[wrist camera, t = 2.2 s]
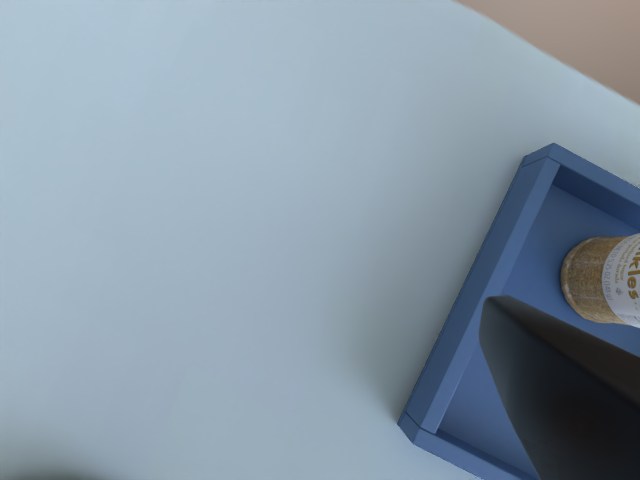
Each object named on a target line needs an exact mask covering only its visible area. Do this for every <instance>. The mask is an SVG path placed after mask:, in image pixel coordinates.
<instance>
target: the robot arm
mask: <svg viewBox="0 0 640 480" xmlns="http://www.w3.org/2000/svg"><path fill="white" fill-rule="evenodd" d="M478 338H479V344H480V347H481V349H482V352H483V355H484V357H485V360H486V362H487V365H488V368H489V370H490V373H491V375H492V378H493V381H494V383H495V386H496V388H497V391H498V394H499V396H500V399H501V401H502V404H503V406H504V409H505V411H506V414H507V416H508V418H509V420H510V422H511V424H512V426H513V428H514V430H515V432H516V434H517V436H518V438H519V440H520V442H521V444H522V446H523V448H524V450H525V452H526V454H527V455H528V457H529V459H530V461H531V463H532V465H533V467H534V469H535V471H536V473H537V475H538V477H539V479H540V480H640V357H639V356H637V355H635V354H633V353H630V352H628V351H626V350H624V349H622V348H620V347H618V346H616V345H613V344H611V343H609V342H607V341H605V340H603V339H601V338H599V337H596V336H594V335H592V334H590V333H588V332H586V331H584V330H582V329H579V328H577V327H575V326H573V325H571V324H569V323H567V322H565V321H563V320H560V319H558V318H556V317H554V316H552V315H550V314H548V313H546V312H543V311H541V310H539V309H537V308H535V307H533V306H531V305H529V304H526V303H524V302H522V301H520V300H518V299H516V298H514V297H512V296H509V295H496V296H488V297H486V298H485V299H484V302H483V305H482V312H481V318H480V325H479V332H478Z"/></svg>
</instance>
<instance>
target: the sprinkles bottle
mask: <svg viewBox="0 0 640 480" xmlns="http://www.w3.org/2000/svg"><path fill="white" fill-rule="evenodd" d="M561 288H562V291H563V293H564V295H565V299H566V300H567V302H568V303H569V305H570V306H571V307H572V308H573V309H574V310H575V311H576V313H578V314H579V315H580V316H582V317H583V318H584V319H587V320H591V321H593V322H597V323H618V324H625V325H632V326H635V327H638V328H640V233H639V234H635V235H632V236H621V237H592V238H589V239H586V240H584V241H582V242H581V243H579V244H578V245H577V246H575V247H573V249H572V250H571V251H570V252H569V253H568V255H567V256H566V257H565V259H564V261H563V265H562V267H561Z"/></svg>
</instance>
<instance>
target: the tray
mask: <svg viewBox="0 0 640 480" xmlns="http://www.w3.org/2000/svg"><path fill="white" fill-rule="evenodd" d="M639 233H640V189H639V188H637V187H635V186H633V185H632V184H630V183H628V182H626V181H624V180H622V179H620V178H619V177H617V176H615V175H613V174H611V173H609V172H607V171H606V170H604V169H602V168H600V167H598V166H596V165H594V164H593V163H591V162H589V161H587V160H585V159H583V158H581V157H580V156H578V155H576V154H574V153H572V152H570V151H568V150H567V149H565V148H563V147H561V146H559V145H557V144H555V143H552V144H550V145H548V146H545V147H543V148H541V149H539V150H537V151H535V152H533V153H531V154H529V155H526V156H524V158H523V160H522V163H521V165H520V167H519V169H518V171H517V173H516V175H515V177H514V179H513V182H512V184H511V186H510V188H509V190H508V192H507V194H506V196H505V198H504V200H503V203H502V205H501V207H500V209H499V211H498V213H497V215H496V217H495V219H494V221H493V224H492V226H491V228H490V230H489V232H488V234H487V236H486V238H485V240H484V242H483V245H482V247H481V249H480V251H479V253H478V255H477V257H476V259H475V261H474V264H473V266H472V268H471V270H470V272H469V274H468V276H467V278H466V280H465V282H464V285H463V287H462V289H461V291H460V293H459V295H458V297H457V299H456V301H455V303H454V306H453V308H452V310H451V312H450V314H449V316H448V318H447V320H446V322H445V325H444V327H443V329H442V331H441V333H440V335H439V337H438V339H437V341H436V343H435V346H434V348H433V350H432V352H431V354H430V356H429V358H428V360H427V362H426V364H425V367H424V369H423V371H422V373H421V375H420V377H419V379H418V381H417V383H416V385H415V388H414V390H413V392H412V394H411V396H410V398H409V400H408V402H407V404H406V407H405V409H404V411H403V413H402V415H401V417H400V419H399V421H398V423H397V425H398V426H399V427H400V428H401V429H402V431H403V432H404V433H405V434H406V436H407V437H408V438H409V440H410V441H411V442H412V443H413V444H414V445H416V446H418V447H420V448H422V449H424V450H426V451H428V452H430V453H432V454H434V455H436V456H438V457H440V458H442V459H444V460H446V461H448V462H450V463H452V464H454V465H456V466H458V467H460V468H462V469H464V470H466V471H468V472H470V473H472V474H474V475H476V476H478V477H480V478H482V479H484V480H540V479H539V477H538V475H537V473H536V471H535V469H534V467H533V465H532V463H531V461H530V459H529V457H528V455H527V454H526V452H525V450H524V448H523V446H522V444H521V442H520V440H519V438H518V436H517V434H516V432H515V430H514V428H513V426H512V424H511V422H510V420H509V418H508V416H507V414H506V411H505V409H504V406H503V404H502V401H501V399H500V396H499V394H498V391H497V388H496V386H495V383H494V381H493V378H492V375H491V373H490V370H489V368H488V365H487V362H486V360H485V357H484V355H483V352H482V349H481V347H480V344H479V338H478V332H479V325H480V318H481V312H482V305H483V302H484V299H485V298H486V297H488V296H496V295H509V296H512V297H514V298H516V299H518V300H520V301H522V302H524V303H526V304H529V305H531V306H533V307H535V308H537V309H539V310H541V311H543V312H546V313H548V314H550V315H552V316H554V317H556V318H558V319H560V320H563V321H565V322H567V323H569V324H571V325H573V326H575V327H577V328H579V329H582V330H584V331H586V332H588V333H590V334H592V335H594V336H596V337H599V338H601V339H603V340H605V341H607V342H609V343H611V344H613V345H616V346H618V347H620V348H622V349H624V350H626V351H628V352H630V353H633V354H635V355H637V356H639V357H640V328H638V327H635V326H632V325H625V324H618V323H597V322H593V321H591V320H587V319H584V318H583V317H582V316H580V315H579V314H578V313H576V311H575V310H574V309H573V308H572V307H571V306H570V305H569V303H568V302H567V300H566V299H565V295H564V293H563V291H562V288H561V267H562V265H563V261H564V259H565V257H566V256H567V255H568V253H569V252H570V251H571V250H572V249H573V247H575V246H577V245H578V244H579V243H581V242H582V241H584V240H586V239H589V238H592V237H621V236H632V235H635V234H639Z"/></svg>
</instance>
